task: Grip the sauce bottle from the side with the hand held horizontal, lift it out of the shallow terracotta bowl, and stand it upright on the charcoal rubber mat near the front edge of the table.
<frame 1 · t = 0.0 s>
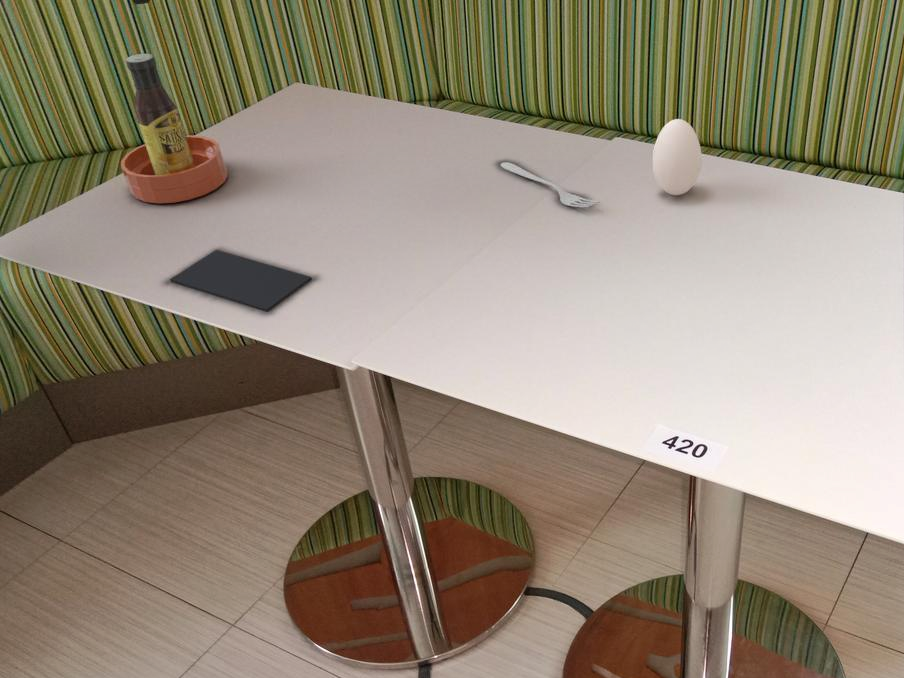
mat: (241, 281, 136), on the table
egg: (676, 194, 151), on the table
sauce bottle: (180, 182, 159), resting on bowl
bowl: (180, 184, 159), on the table
fork: (546, 189, 154), on the table
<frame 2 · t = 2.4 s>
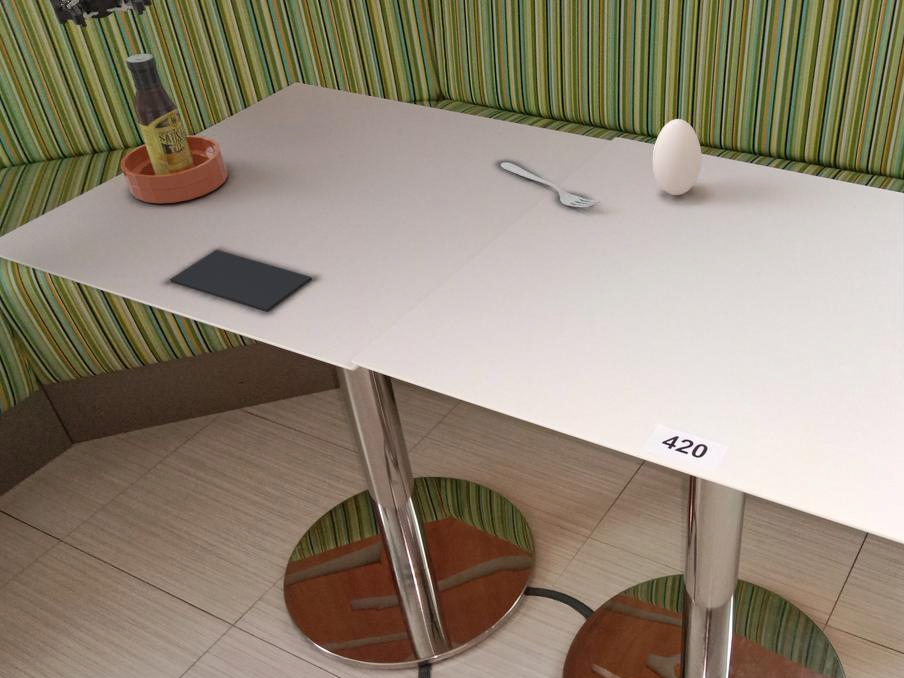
hand: (111, 14, 150), 24 cm above the table, tool horizontal, fingers open, 8 cm apart
nothing on the table moved.
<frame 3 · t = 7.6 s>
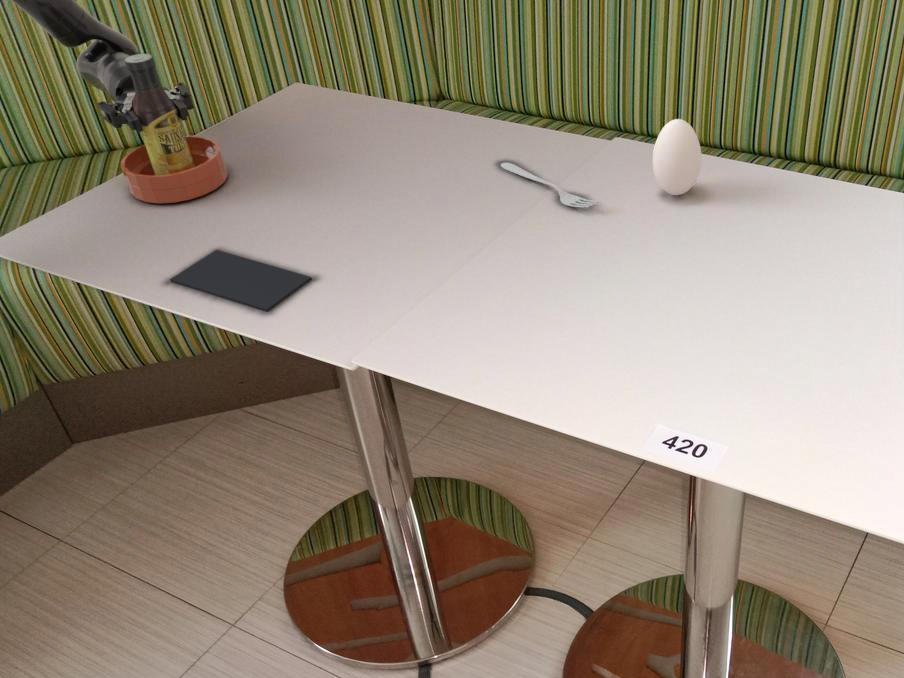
hand: (161, 119, 150), 12 cm above the table, tool horizontal, fingers closed on sauce bottle, 6 cm apart
sauce bottle: (180, 182, 159), resting on bowl, touching gripper
everything else where it was.
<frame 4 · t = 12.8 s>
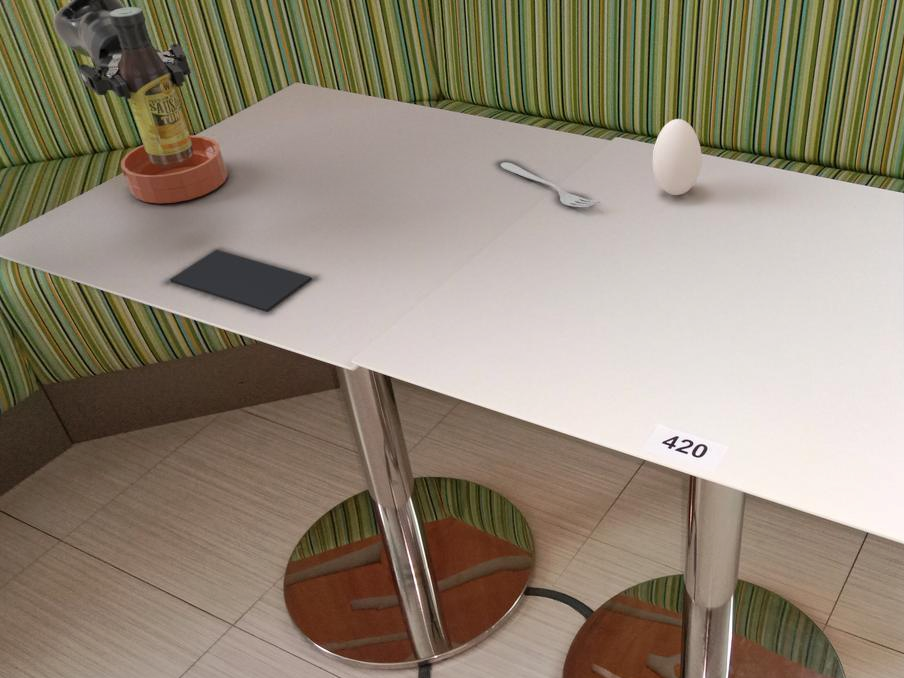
hand: (152, 85, 128), 24 cm above the table, tool horizontal, fingers closed on sauce bottle, 6 cm apart
sauce bottle: (174, 159, 137), point 12 cm above the table, touching gripper
everything else where it was.
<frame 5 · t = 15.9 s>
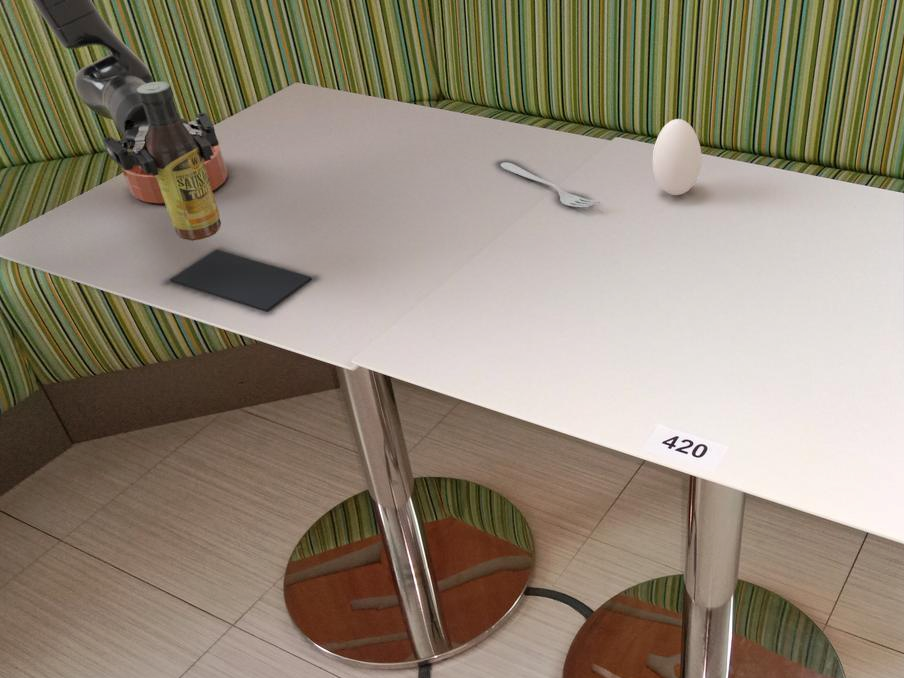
hand: (180, 160, 124), 18 cm above the table, tool horizontal, fingers closed on sauce bottle, 6 cm apart
sauce bottle: (201, 232, 133), point 6 cm above the table, touching gripper
everything else where it was.
when the fingers open (12 cm above the table, at t = 18.1 s): sauce bottle stays where it is, resting on mat.
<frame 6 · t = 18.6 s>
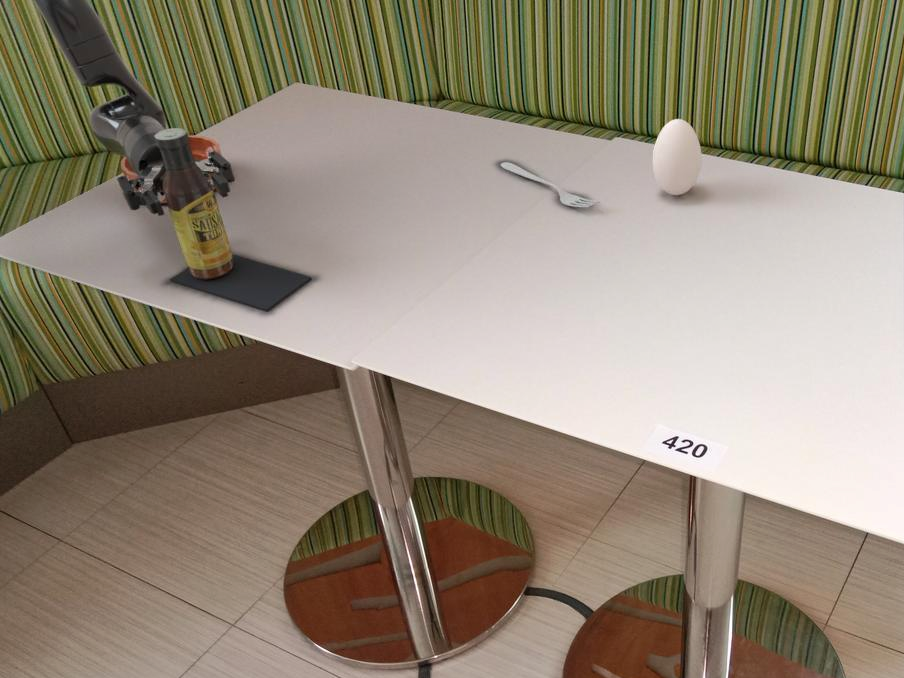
hand: (192, 199, 128), 12 cm above the table, tool horizontal, fingers open, 8 cm apart
sauce bottle: (214, 270, 137), resting on mat
everything else where it was.
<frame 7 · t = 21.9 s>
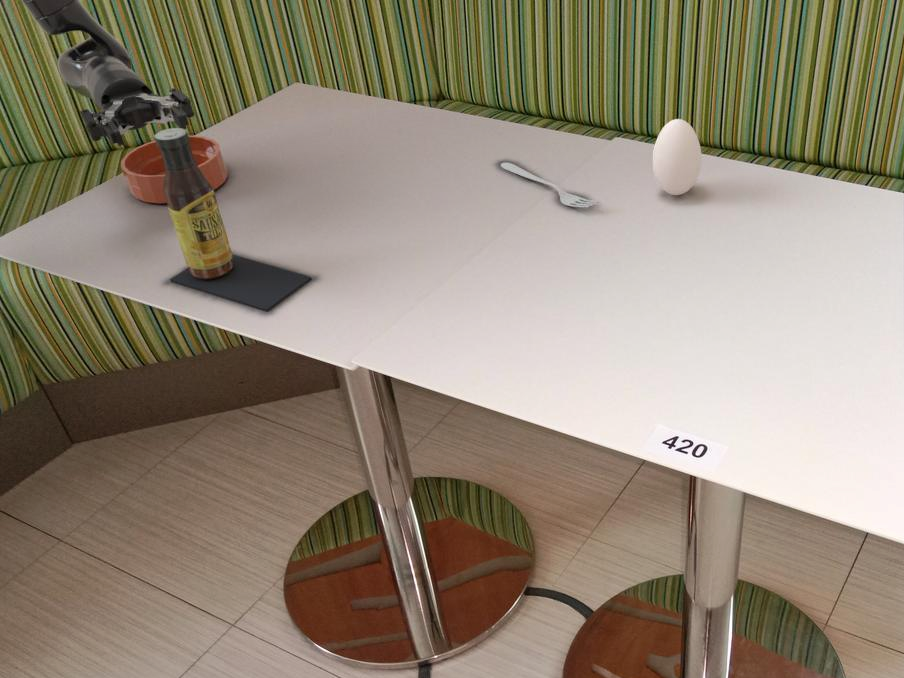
hand: (151, 130, 133), 17 cm above the table, tool horizontal, fingers open, 8 cm apart
nothing on the table moved.
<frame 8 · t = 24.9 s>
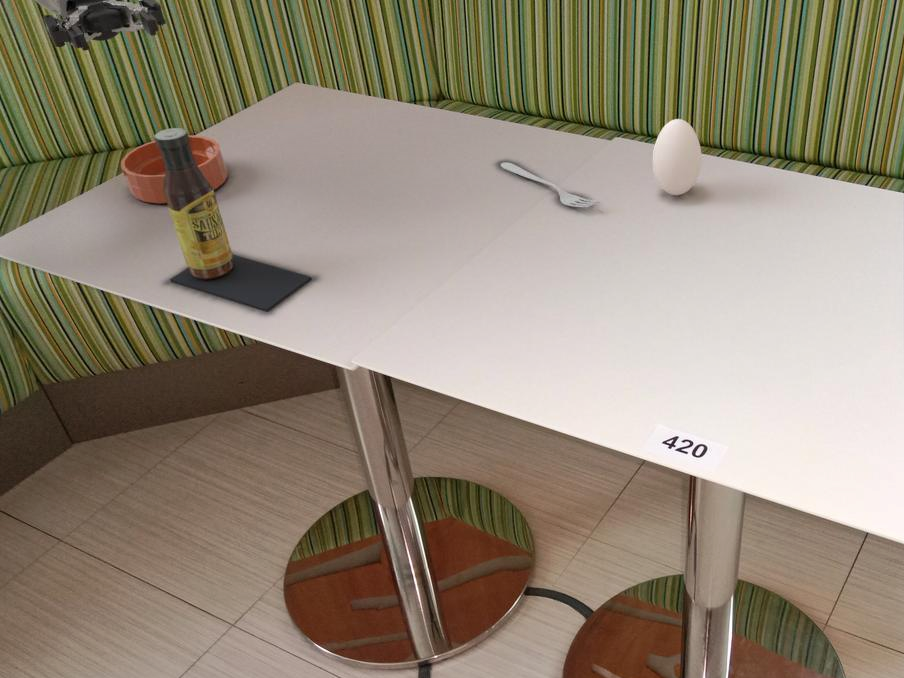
hand: (118, 34, 124), 30 cm above the table, tool horizontal, fingers open, 8 cm apart
nothing on the table moved.
at the end: sauce bottle inside the target area on the mat (1.4 cm from its centre), point 0.3 cm above the mat's base; sauce bottle tilted 0°; sauce bottle touching mat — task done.
